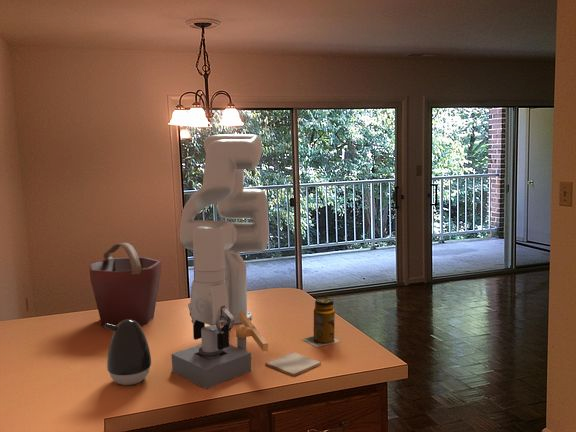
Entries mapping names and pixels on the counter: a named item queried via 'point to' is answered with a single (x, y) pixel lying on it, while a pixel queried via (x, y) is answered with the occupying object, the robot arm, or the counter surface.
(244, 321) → the knobbed wooden stick
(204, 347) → the plug
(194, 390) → the counter surface
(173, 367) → the socket block
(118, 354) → the pump dispenser
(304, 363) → the pad
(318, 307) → the condiment
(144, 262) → the bucket
